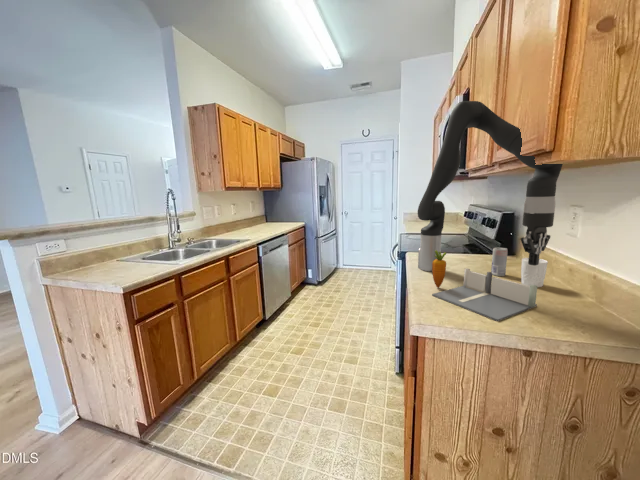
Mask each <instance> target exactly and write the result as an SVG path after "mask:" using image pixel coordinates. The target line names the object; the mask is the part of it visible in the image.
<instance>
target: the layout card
mask: <svg viewBox="0 0 640 480" xmlns="http://www.w3.org/2000/svg"><path fill="white" fill-rule="evenodd" d="M485 292H486V291H485ZM485 292H484V291H481V290H477V289H474V288H471V287H464V286H463V285H460V286H456V287H454V288H448V289H446V290H443V291H438V292H434V293H432V294H431V295H432V297H435V298H437V299H439V300H442V301H445V302H448V303H450V304H452V305H455V306H458V307H460V308H463V309H466V310H468V311H470V312H472V313H475V314H478V315H480V316H483V317H486V318H488V319H491V320H493V321H495V322H500V321H502V320H503V321H504V320H505V319H507V318H510V317H512V316H515V315H518V314H520V313H523V312H526V311H528V310H531V309H533V308H536V307H537V306H538V304H535V307H531V306H528V305H525V304H522V303H519V302H516V301H513V300H509V299H506V298H503V297H500V296H497V295H493V294H487V293H485Z"/></svg>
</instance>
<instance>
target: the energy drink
mask: <svg viewBox="0 0 640 480" xmlns="http://www.w3.org/2000/svg"><path fill="white" fill-rule="evenodd" d="M508 252H509V251H508V248H507V247H499V246H498V247H493V249H492V256H491V259H492V260H491V269H490V272H492V276H494V277H505V276H506V272H507V264H508V263H507V262H508Z"/></svg>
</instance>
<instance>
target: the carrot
mask: <svg viewBox="0 0 640 480" xmlns="http://www.w3.org/2000/svg"><path fill="white" fill-rule="evenodd" d="M435 253H436V255H437V256H435V257H436V258H437V259H435V260H434V261H433V263H432V271H431V272H432V279H433V282H434V285H435V286H436V288H437V289H439V288H440V287H441V286H442V284H443V282H444V280H445V275H446V269H447V261H446V260H444V257H445V256H446V254H447V252H443V254H442V252H439V253H438V251H437V250H436V251H435Z"/></svg>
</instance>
